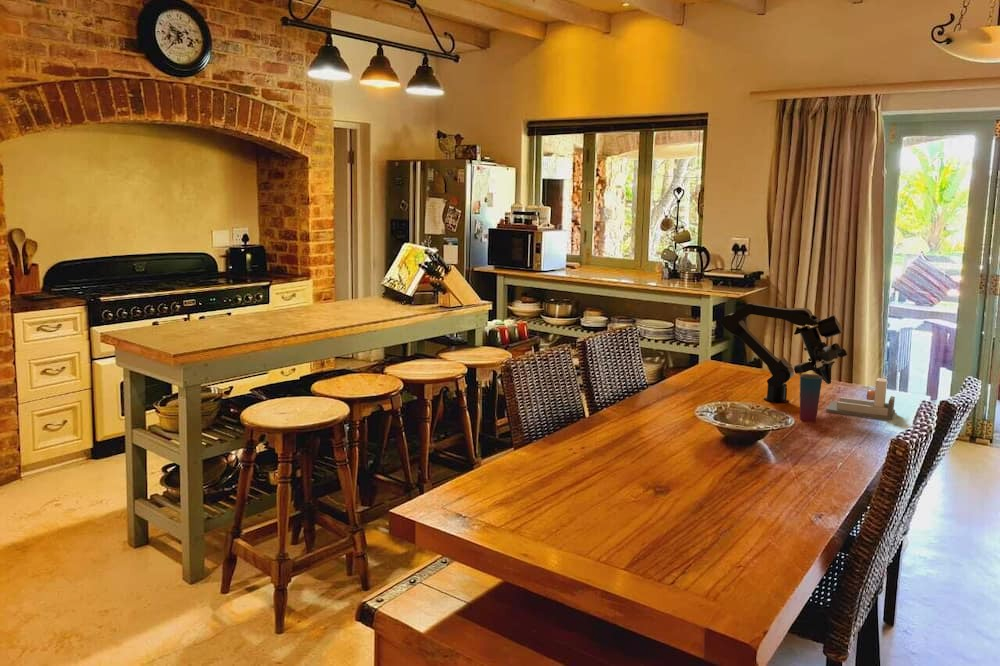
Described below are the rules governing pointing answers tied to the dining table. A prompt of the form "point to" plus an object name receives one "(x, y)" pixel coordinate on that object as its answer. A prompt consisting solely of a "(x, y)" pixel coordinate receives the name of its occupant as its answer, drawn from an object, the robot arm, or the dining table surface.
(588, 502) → the dining table surface
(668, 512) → the dining table surface
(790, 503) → the dining table surface
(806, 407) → the cup
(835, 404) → the station
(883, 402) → the plug
